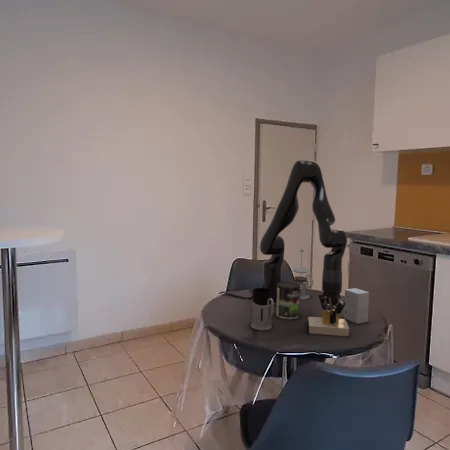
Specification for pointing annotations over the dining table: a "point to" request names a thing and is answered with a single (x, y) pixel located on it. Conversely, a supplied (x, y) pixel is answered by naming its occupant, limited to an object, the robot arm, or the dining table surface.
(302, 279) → the french press
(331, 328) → the base
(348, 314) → the small box
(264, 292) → the glass holder
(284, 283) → the coffee can
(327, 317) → the tan rectangular block
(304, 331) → the dining table surface
